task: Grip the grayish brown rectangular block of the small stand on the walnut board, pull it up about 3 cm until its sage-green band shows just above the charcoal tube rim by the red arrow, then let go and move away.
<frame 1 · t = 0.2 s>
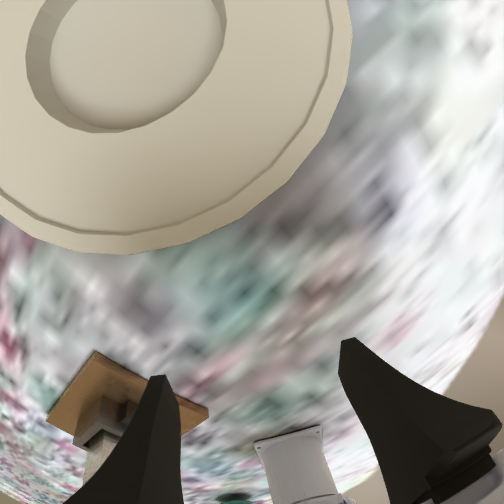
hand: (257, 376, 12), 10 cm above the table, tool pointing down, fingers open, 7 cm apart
beverage bottle: (233, 497, 40), on the table
ashtray: (132, 45, 14), on the table
stand base: (119, 416, 26), on the table
grayish brown rectangular block: (113, 459, 21), point 5 cm above the table, slide at 0.0 cm
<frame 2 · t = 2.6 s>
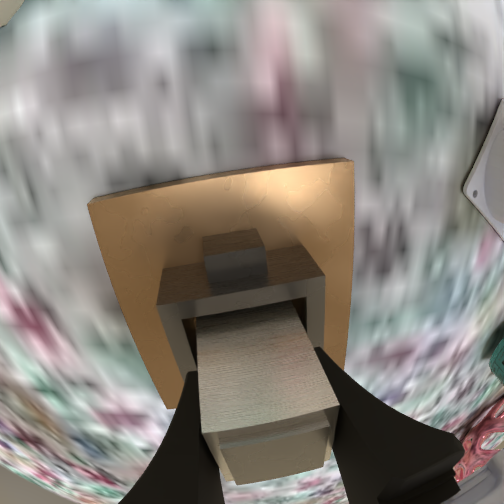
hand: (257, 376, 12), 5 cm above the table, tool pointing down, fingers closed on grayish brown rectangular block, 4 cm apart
spiral basket: (483, 420, 37), on the table
beverage bottle: (498, 337, 25), on the table
stand base: (239, 302, 17), on the table
grayish brown rectangular block: (256, 375, 12), point 5 cm above the table, slide at 0.0 cm, touching gripper
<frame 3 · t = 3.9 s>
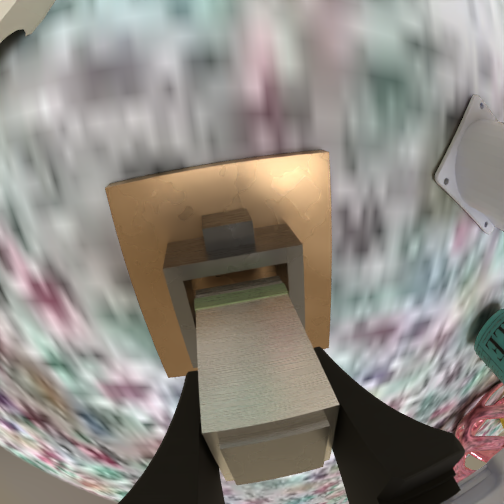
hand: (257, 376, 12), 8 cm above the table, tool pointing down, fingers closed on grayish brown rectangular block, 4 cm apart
spiral basket: (475, 409, 40), on the table
beverage bottle: (483, 322, 28), on the table
stand base: (233, 275, 19), on the table
grayish brown rectangular block: (256, 375, 12), point 8 cm above the table, slide at 3.0 cm, touching gripper
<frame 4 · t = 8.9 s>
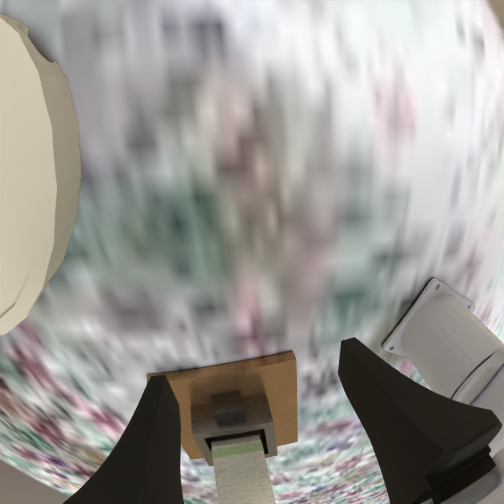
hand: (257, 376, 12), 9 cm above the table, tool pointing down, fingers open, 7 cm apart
stand base: (232, 412, 27), on the table
grayish brown rectangular block: (245, 488, 20), point 8 cm above the table, slide at 3.0 cm
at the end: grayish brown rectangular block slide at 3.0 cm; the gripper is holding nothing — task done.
